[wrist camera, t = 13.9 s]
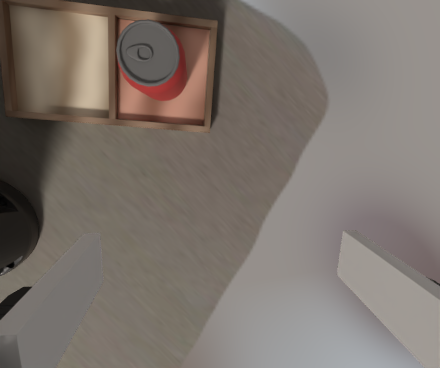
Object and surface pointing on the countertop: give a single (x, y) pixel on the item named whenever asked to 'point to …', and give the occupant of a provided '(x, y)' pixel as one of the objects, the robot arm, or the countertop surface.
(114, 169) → the countertop surface
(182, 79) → the beer can
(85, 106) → the caddy tray
